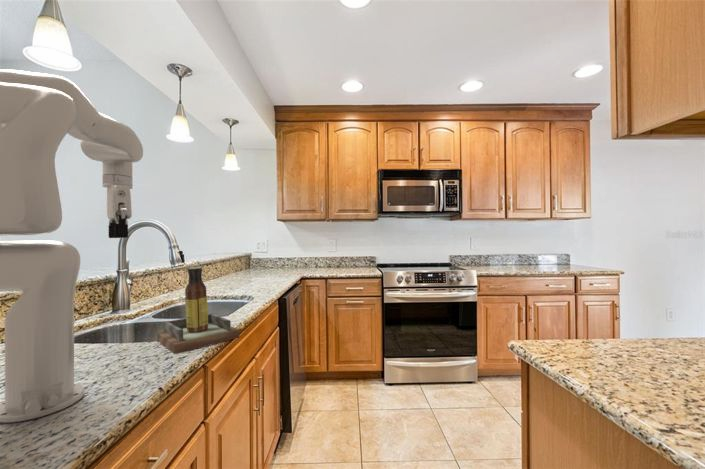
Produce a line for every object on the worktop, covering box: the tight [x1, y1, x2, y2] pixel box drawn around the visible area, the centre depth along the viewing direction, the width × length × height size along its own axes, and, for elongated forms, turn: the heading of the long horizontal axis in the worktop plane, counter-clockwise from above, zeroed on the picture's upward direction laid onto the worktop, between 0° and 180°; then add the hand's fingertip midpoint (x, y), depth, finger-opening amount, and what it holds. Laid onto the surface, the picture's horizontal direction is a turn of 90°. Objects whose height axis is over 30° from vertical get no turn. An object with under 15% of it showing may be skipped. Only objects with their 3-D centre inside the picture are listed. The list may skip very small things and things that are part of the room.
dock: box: [156, 313, 240, 355], centre depth 100 cm, size 16×19×6 cm
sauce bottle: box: [184, 266, 209, 332], centre depth 101 cm, size 6×6×20 cm
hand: (118, 237), depth 99 cm, fingers open, 9 cm apart
